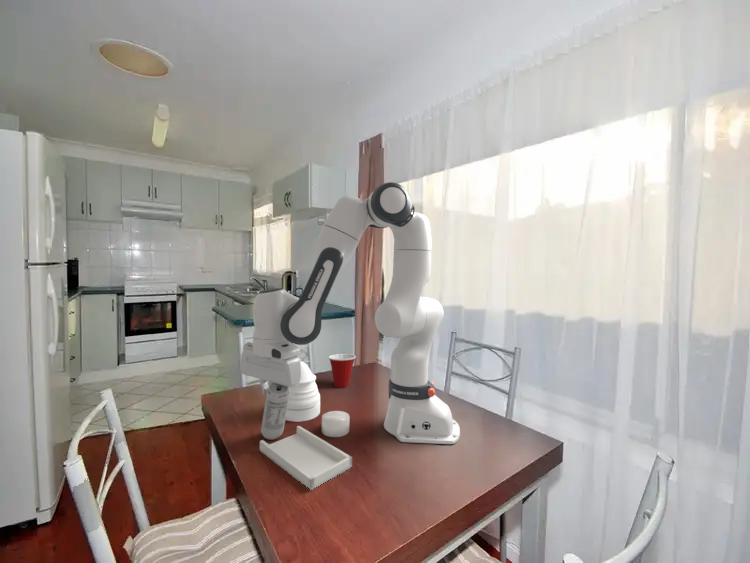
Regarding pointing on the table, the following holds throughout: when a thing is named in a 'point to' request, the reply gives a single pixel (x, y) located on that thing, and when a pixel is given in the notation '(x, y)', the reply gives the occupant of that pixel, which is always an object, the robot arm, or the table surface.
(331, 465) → the tray
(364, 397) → the table surface
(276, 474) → the table surface
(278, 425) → the energy drink can
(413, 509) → the table surface
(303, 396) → the honey pot
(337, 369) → the plastic cup
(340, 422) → the white rounded puck
